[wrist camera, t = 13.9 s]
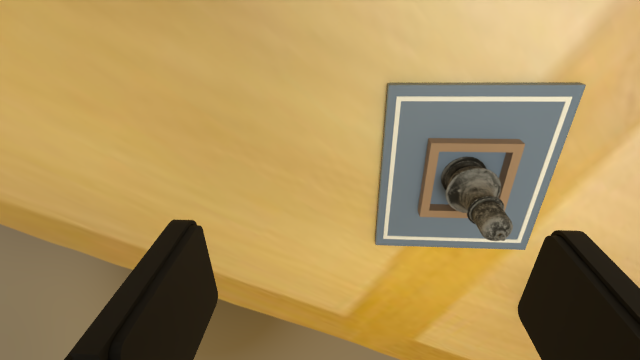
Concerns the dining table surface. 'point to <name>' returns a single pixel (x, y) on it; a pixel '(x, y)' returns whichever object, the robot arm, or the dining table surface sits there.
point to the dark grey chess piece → (477, 196)
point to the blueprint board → (468, 141)
